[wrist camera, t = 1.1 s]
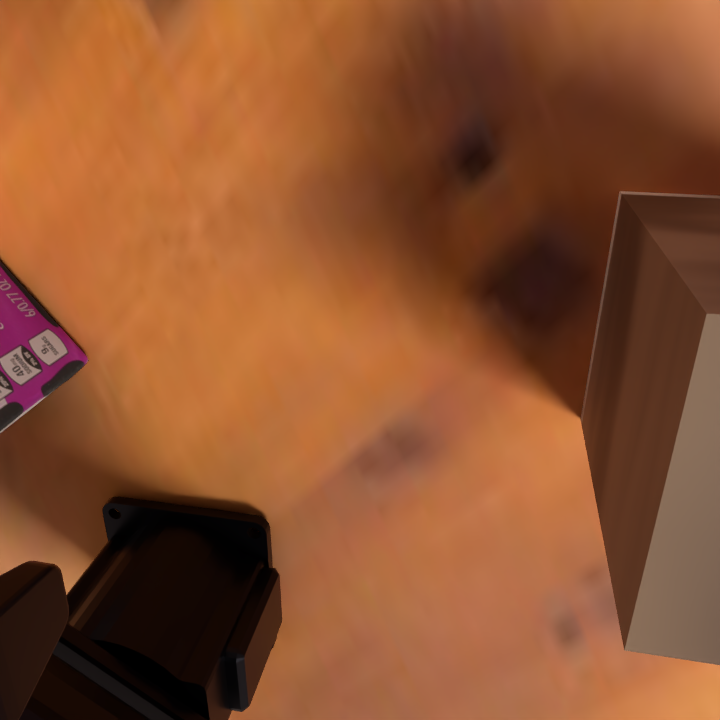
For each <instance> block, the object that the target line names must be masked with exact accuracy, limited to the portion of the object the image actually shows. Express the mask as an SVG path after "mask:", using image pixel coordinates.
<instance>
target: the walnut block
mask: <svg viewBox="0 0 720 720" xmlns="http://www.w3.org/2000/svg"><path fill="white" fill-rule="evenodd" d="M581 424H582V429H583V434H584V440H585V445H586V450H587V455H588V461H589V466H590V471H591V477H592V482H593V487H594V492H595V498H596V503H597V508H598V513H599V519H600V524H601V529H602V535H603V540H604V545H605V550H606V556H607V561H608V566H609V571H610V577H611V582H612V587H613V593H614V598H615V603H616V608H617V614H618V619H619V624H620V630H621V635H622V640H623V645H624V650H626V651H632V652H639V653H645V654H651V655H658V656H664V657H671V658H677V659H684V660H690V661H697V662H703V663H710V664H716V665H720V196H718V195H696V194H674V193H652V192H630V191H619V196H618V202H617V208H616V214H615V220H614V226H613V232H612V237H611V243H610V249H609V255H608V261H607V267H606V273H605V278H604V284H603V290H602V296H601V302H600V308H599V314H598V319H597V325H596V331H595V337H594V343H593V349H592V354H591V360H590V366H589V372H588V378H587V384H586V390H585V395H584V401H583V407H582V413H581Z"/></svg>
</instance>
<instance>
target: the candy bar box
mask: <svg viewBox="0 0 720 720" xmlns="http://www.w3.org/2000/svg"><path fill="white" fill-rule="evenodd" d="M88 361H89V360H88V358H87V356H86V355H85V354H84V353H83V352H82V350H81V349H80V348H79V347H78V346H77V345H76V344H75V343H74V342H73V341H72V340H71V338H70V337H69V336H68V335H67V334H66V333H65V332H64V331H63V330H62V328H61V327H60V326H59V325H58V324H57V323H56V322H55V321H54V320H53V319H52V318H51V317H50V316H49V315H48V313H47V312H46V311H45V310H44V309H43V308H42V307H41V306H40V304H39V303H38V302H37V301H36V300H35V299H34V298H33V297H32V296H31V295H30V294H29V292H28V291H27V290H26V289H25V288H24V287H23V286H22V285H21V284H20V282H19V281H18V280H17V279H16V278H15V277H14V276H13V275H12V274H11V273H10V271H9V270H8V269H7V268H6V267H5V266H4V265H3V264H2V263H1V262H0V433H2V432H3V431H4V430H6V429H7V428H8V427H9V426H10V425H12V424H13V423H15V422H16V421H17V420H18V419H19V418H21V417H22V416H23V415H24V414H26V413H27V412H28V411H29V410H31V409H32V408H33V407H34V406H36V405H37V404H38V403H39V402H41V401H42V400H43V399H44V398H46V397H47V396H48V395H49V394H51V393H52V392H53V391H54V390H56V389H57V388H58V387H59V386H61V385H62V384H63V383H64V382H66V381H67V380H69V379H70V378H71V377H72V376H74V375H75V374H76V373H77V372H78V371H79V370H80V369H81V368H82V367H83V366H84V365H85V364H86V363H87V362H88Z"/></svg>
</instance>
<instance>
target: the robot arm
mask: <svg viewBox="0 0 720 720" xmlns="http://www.w3.org/2000/svg"><path fill="white" fill-rule="evenodd" d="M115 509H117V510H118V511H119V512H118V511H117V510H115ZM103 517H104V522H105V527H106V532H107V537H108V543H107V544H106V545H105V547H104V548H103V549H102V550H101V552H100V553H99V554H98V555H97V557H96V558H95V559H94V561H93V562H92V563H91V564H90V566H89V567H88V568H87V569H86V571H85V572H84V573H83V575H82V576H81V577H80V578H79V580H78V581H77V582H76V583H75V585H74V586H73V587H72V589H71V590H70V591H69V592H68V594H67V595H66V591H65V587H64V582H63V577H62V573H61V570H60V569H59V567H58V566H57V565H54V564H50V563H44V562H38V561H28V562H25V563H23V564H21V565H19V566H17V567H15V568H13V569H12V570H10V571H8V572H6V573H4V574H2V575H0V720H228V719H229V716H230V714H231V711H232V710H234V711H240V712H242V711H244V710H245V709H246V708H248V707H249V706H250V704H251V701H252V698H253V696H254V693H255V690H256V688H257V685H258V683H259V680H260V677H261V675H262V672H263V670H264V667H265V664H266V662H267V659H268V657H269V654H270V651H271V649H272V648H273V646H274V644H275V641H276V638H277V633H278V631H279V628H280V625H281V623H282V610H281V592H280V575H279V573H278V572H277V570H276V569H275V568H273V566H272V550H271V534H270V526H269V523H268V522H267V521H266V519H264V518H263V517H261V516H257V515H251V514H243V513H236V512H228V511H221V510H214V509H206V508H199V507H191V506H184V505H176V504H169V503H161V502H154V501H146V500H139V499H132V498H124V497H113V498H111V499H110V500H109V501H108V502H107V503H106V504H105V505H104V507H103ZM252 527H253V528H256V529H258V530H259V532H257V531H254V530H253V529H252Z"/></svg>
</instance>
